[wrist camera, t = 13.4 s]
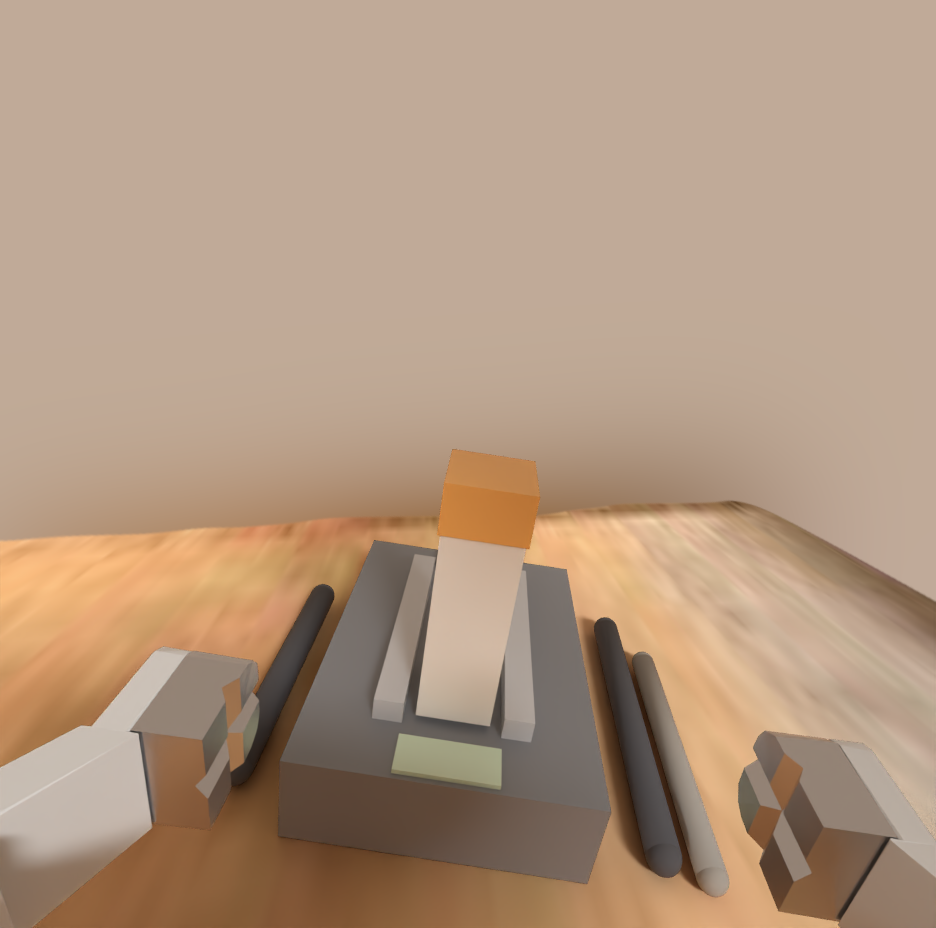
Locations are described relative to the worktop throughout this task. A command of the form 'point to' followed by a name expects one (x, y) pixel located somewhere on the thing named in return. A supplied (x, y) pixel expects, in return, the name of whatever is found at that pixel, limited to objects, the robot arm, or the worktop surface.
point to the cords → (630, 730)
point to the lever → (475, 582)
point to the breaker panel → (449, 736)
